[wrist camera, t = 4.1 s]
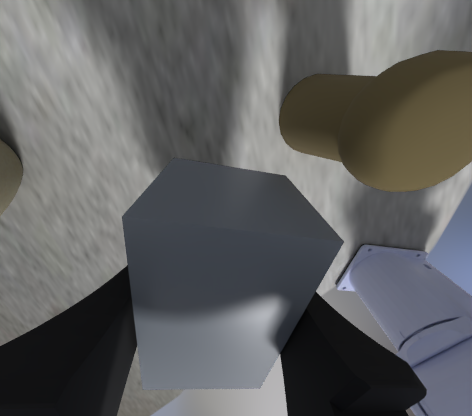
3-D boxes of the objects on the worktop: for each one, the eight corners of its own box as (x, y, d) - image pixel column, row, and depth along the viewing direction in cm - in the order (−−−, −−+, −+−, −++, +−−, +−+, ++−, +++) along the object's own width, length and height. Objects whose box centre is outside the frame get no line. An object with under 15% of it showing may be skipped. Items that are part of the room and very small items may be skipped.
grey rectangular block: (285, 175, 11) (344, 241, 6) (247, 294, 16) (259, 388, 11) (174, 157, 10) (122, 216, 5) (170, 289, 15) (142, 389, 10)
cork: (270, 147, 17) (333, 203, 7) (291, 65, 14) (437, -16, 5) (331, 157, 18) (459, 221, 8) (363, 82, 15) (613, 46, 5)
